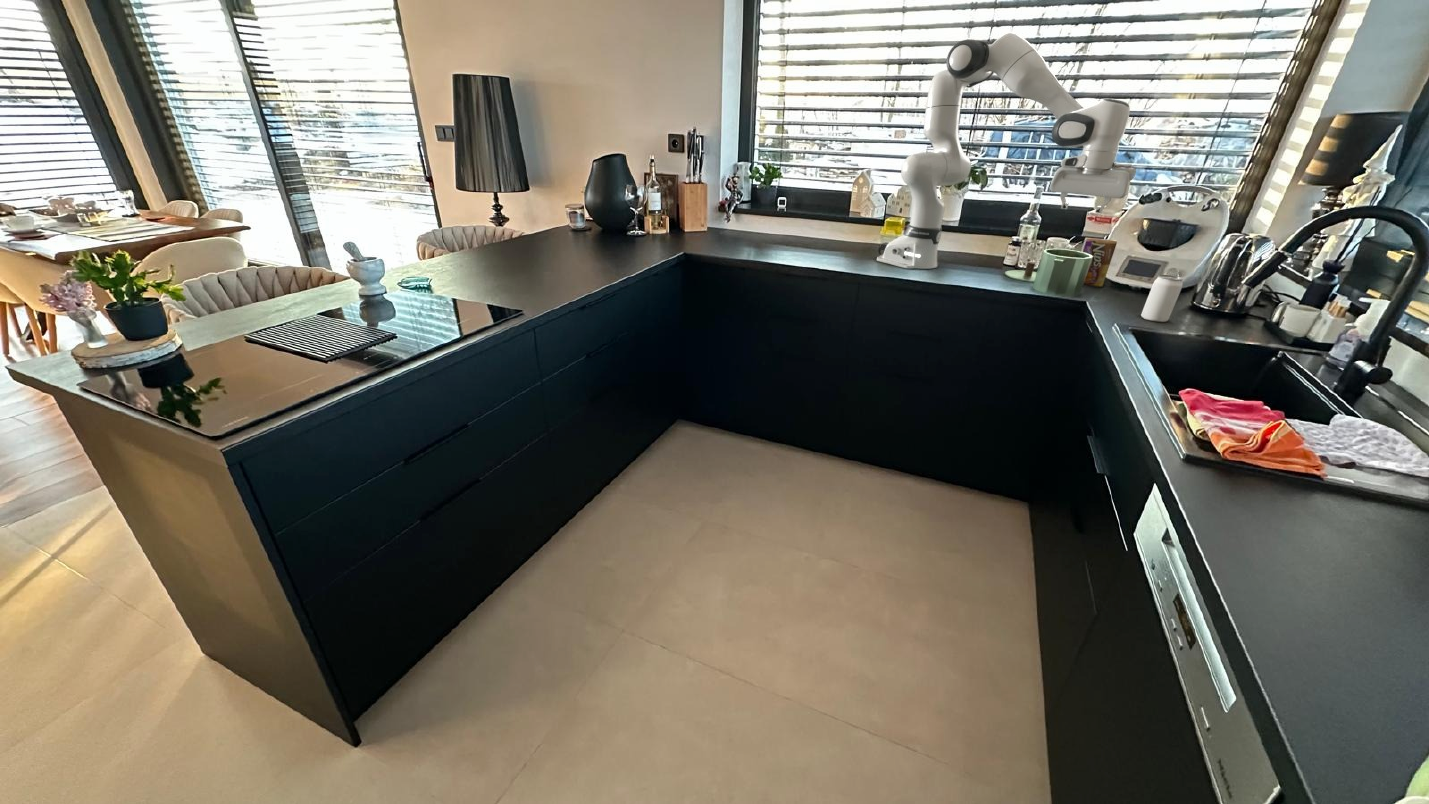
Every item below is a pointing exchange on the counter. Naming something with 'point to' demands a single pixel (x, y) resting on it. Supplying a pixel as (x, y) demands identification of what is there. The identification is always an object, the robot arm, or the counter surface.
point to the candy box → (1098, 259)
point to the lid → (1023, 273)
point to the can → (1162, 298)
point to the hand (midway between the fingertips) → (1080, 210)
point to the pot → (1062, 272)
